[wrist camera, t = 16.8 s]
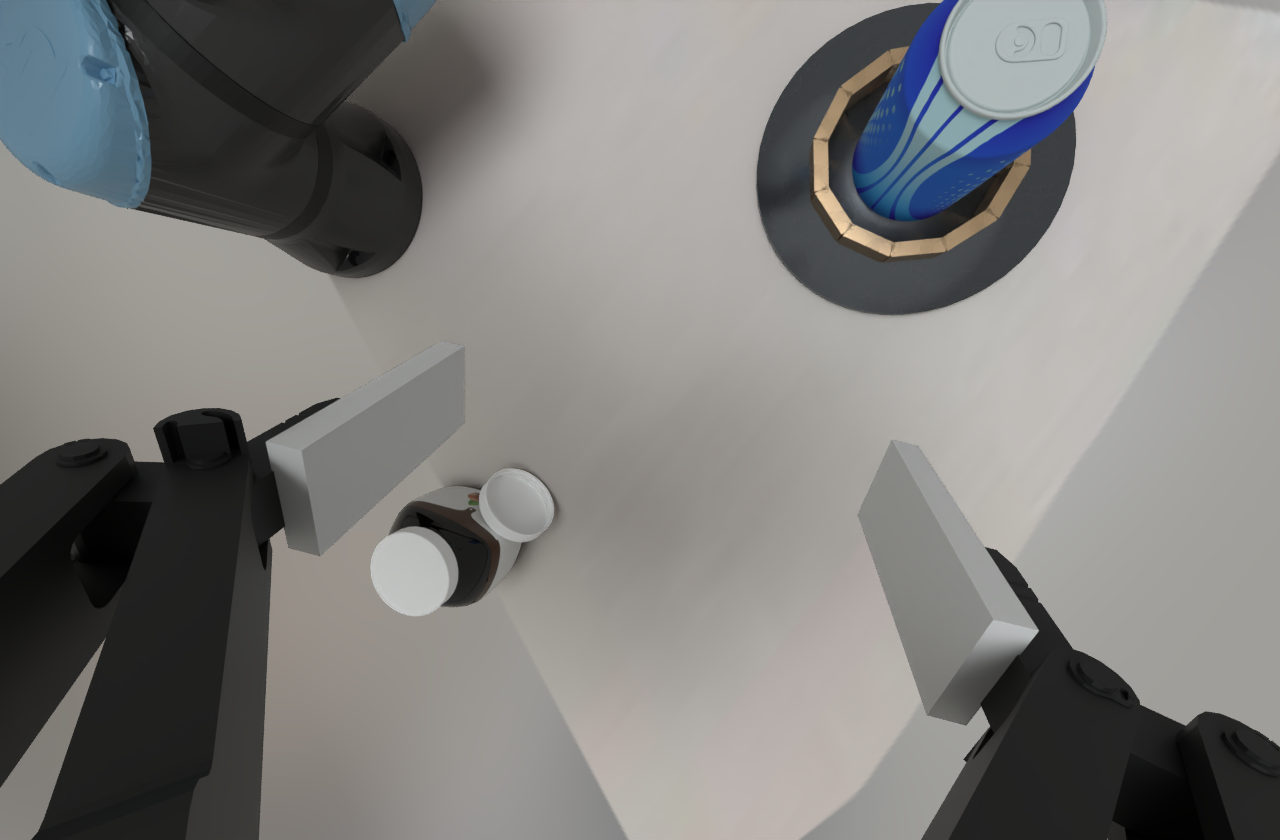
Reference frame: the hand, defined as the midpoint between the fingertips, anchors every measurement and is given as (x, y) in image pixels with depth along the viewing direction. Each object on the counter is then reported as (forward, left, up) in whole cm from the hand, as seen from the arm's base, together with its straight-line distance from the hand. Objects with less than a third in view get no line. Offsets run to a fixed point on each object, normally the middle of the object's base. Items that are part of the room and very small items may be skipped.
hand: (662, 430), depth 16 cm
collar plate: (+5, +21, -29) cm, 36 cm away
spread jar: (-13, -21, -29) cm, 38 cm away
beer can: (+5, +21, -28) cm, 36 cm away
